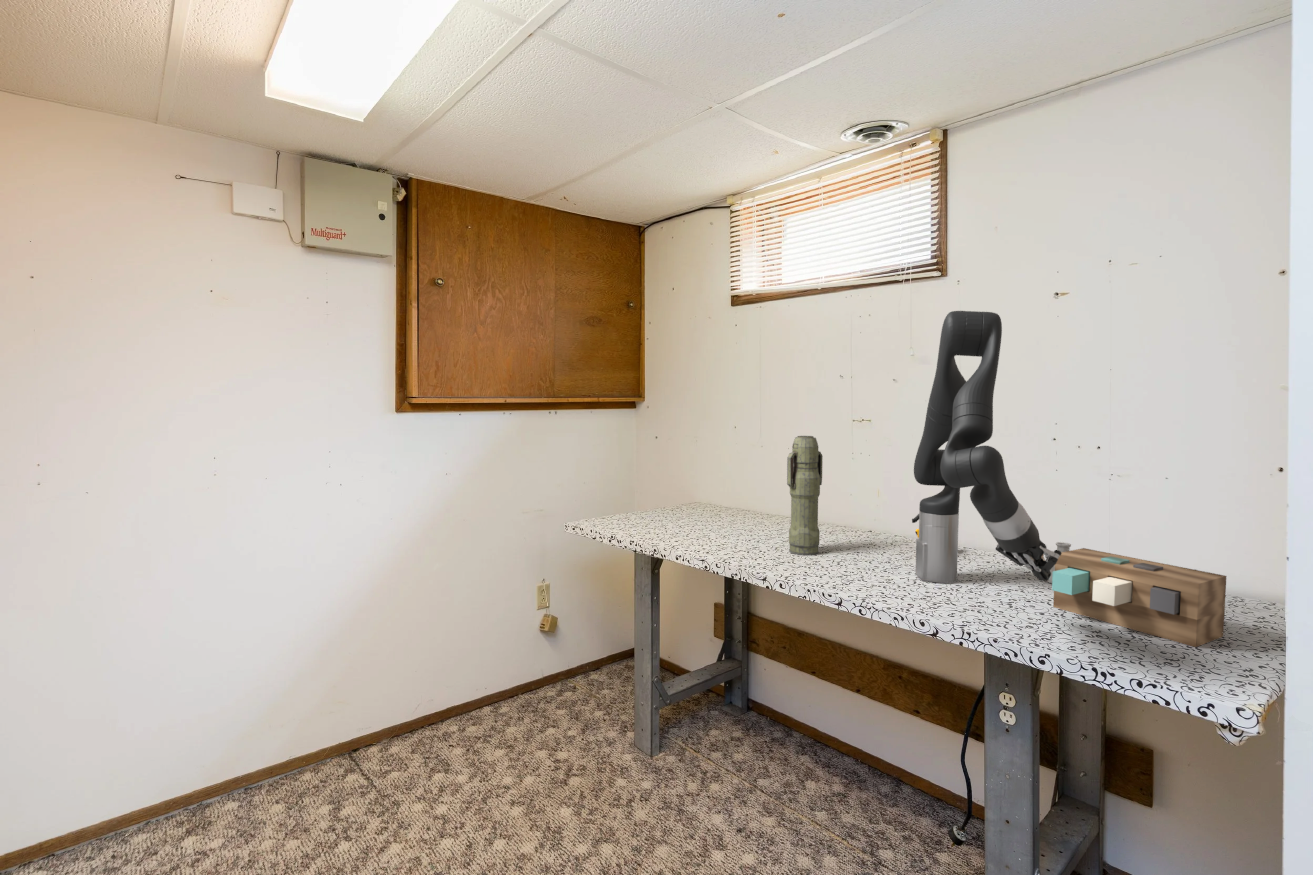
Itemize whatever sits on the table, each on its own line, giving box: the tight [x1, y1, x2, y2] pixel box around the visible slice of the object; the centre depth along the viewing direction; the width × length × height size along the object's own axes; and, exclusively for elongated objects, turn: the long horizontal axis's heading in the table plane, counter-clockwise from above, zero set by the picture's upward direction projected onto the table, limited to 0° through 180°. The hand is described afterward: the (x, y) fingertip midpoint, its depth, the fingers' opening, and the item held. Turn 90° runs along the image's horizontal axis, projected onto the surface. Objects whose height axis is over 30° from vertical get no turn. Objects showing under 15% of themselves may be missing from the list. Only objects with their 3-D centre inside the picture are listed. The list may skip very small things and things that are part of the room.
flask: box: [1047, 541, 1072, 584], centre depth 160 cm, size 7×7×10 cm
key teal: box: [1051, 567, 1090, 595], centre depth 136 cm, size 10×4×4 cm, turn 118°
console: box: [1052, 547, 1227, 648], centre depth 132 cm, size 11×26×12 cm, turn 28°
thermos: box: [786, 435, 823, 556], centre depth 191 cm, size 9×12×35 cm
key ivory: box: [1092, 576, 1133, 606], centre depth 129 cm, size 10×4×4 cm, turn 118°
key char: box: [1150, 586, 1181, 614], centre depth 124 cm, size 10×4×4 cm, turn 118°
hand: (1044, 577), depth 131 cm, fingers closed
